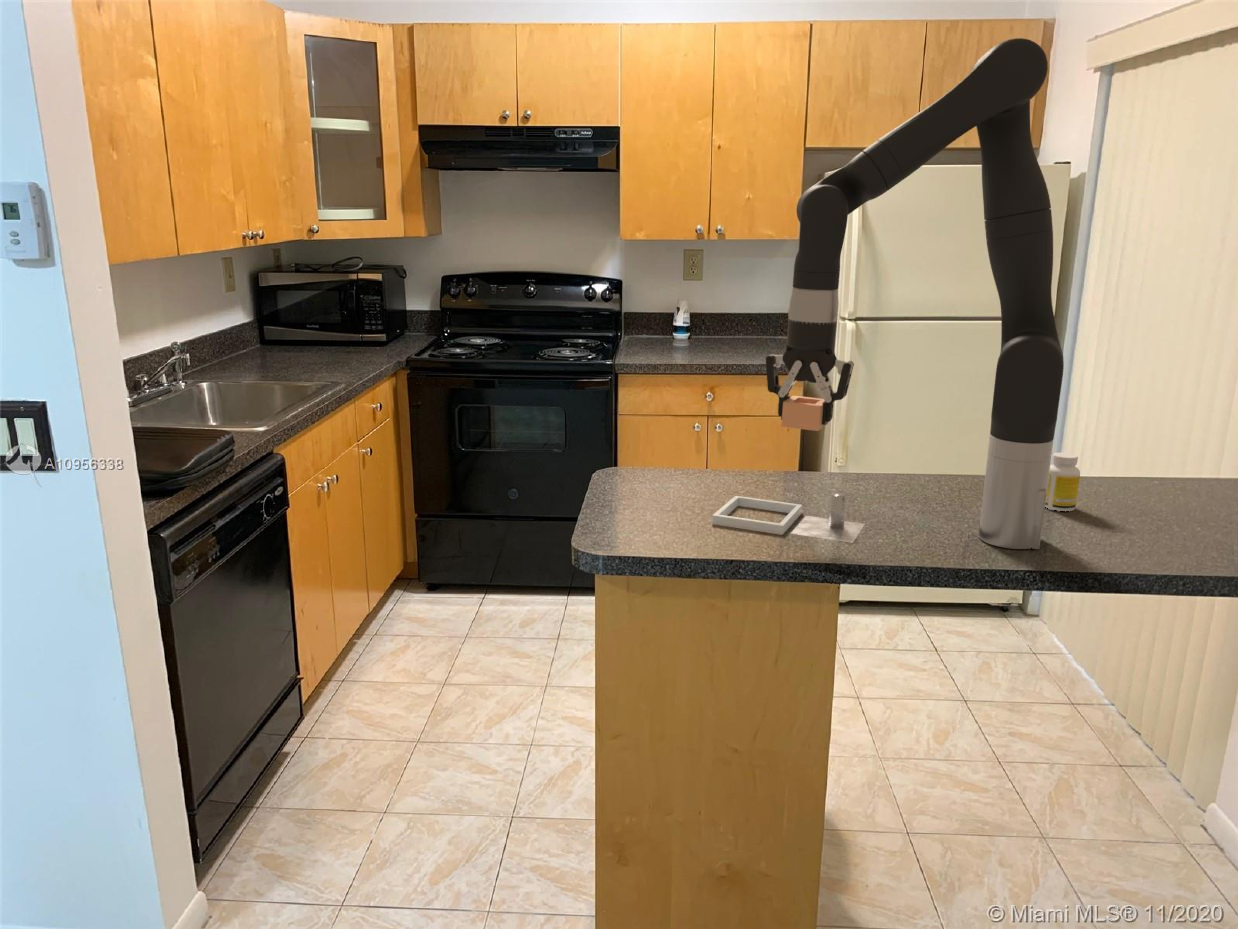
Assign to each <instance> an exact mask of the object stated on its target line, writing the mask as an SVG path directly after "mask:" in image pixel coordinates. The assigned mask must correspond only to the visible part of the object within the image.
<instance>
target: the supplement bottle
mask: <svg viewBox="0 0 1238 929" xmlns="http://www.w3.org/2000/svg"><path fill="white" fill-rule="evenodd" d="M1052 454H1053V455H1052V458H1051V459H1052V460H1051V461H1052V462H1051V463H1053V464H1050V470H1049V478H1048V486H1047V496H1046V503H1045V507H1046V508H1045V509H1047V508H1048V509H1047V510H1050V511H1054V510H1057V511H1056V512H1060V511H1065V512H1064V513H1067V512H1066V511H1069V512H1072V511H1075V509H1076V505H1077V500H1078V499H1077V498H1078V492H1079V484H1080V477H1081V470H1080V469H1079V467H1076V465H1077V464H1078V459H1079V456H1078V455H1077V454H1074V453H1070V452H1054V453H1052Z"/></svg>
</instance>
